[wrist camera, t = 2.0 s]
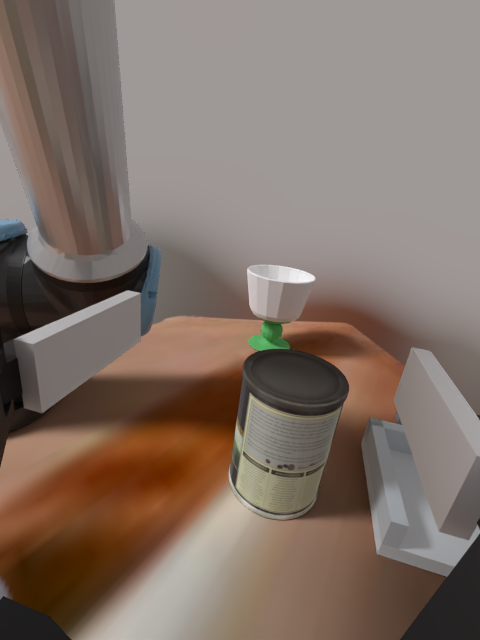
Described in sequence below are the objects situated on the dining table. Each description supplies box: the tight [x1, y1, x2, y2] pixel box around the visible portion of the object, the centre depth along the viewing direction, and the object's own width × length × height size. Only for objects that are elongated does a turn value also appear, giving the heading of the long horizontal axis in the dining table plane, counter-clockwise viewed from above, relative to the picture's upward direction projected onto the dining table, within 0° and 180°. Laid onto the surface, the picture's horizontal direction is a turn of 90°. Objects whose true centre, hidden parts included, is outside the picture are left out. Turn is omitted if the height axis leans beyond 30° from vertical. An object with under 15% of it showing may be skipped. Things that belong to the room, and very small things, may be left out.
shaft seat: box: [361, 412, 480, 577], centre depth 38 cm, size 24×15×7 cm, turn 166°
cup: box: [247, 265, 316, 351], centre depth 66 cm, size 14×14×16 cm
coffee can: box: [229, 349, 349, 520], centre depth 34 cm, size 10×10×14 cm
